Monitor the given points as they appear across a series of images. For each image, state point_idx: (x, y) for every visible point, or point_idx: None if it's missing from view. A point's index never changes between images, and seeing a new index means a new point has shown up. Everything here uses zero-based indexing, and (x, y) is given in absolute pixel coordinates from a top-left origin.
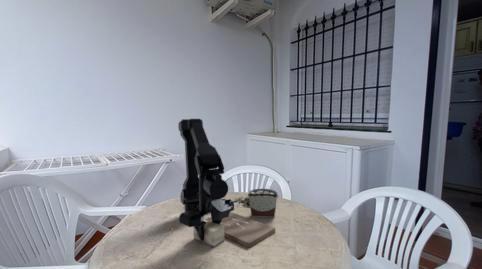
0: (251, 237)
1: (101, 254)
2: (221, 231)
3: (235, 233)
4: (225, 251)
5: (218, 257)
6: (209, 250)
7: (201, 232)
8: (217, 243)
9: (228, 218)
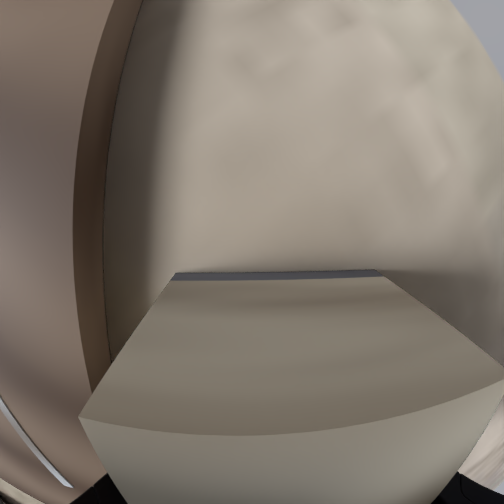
0: (23, 13)
1: (494, 487)
2: (226, 360)
3: (15, 217)
4: (362, 104)
5: (463, 116)
6: (430, 270)
7: (459, 474)
8: (322, 280)
9: None
